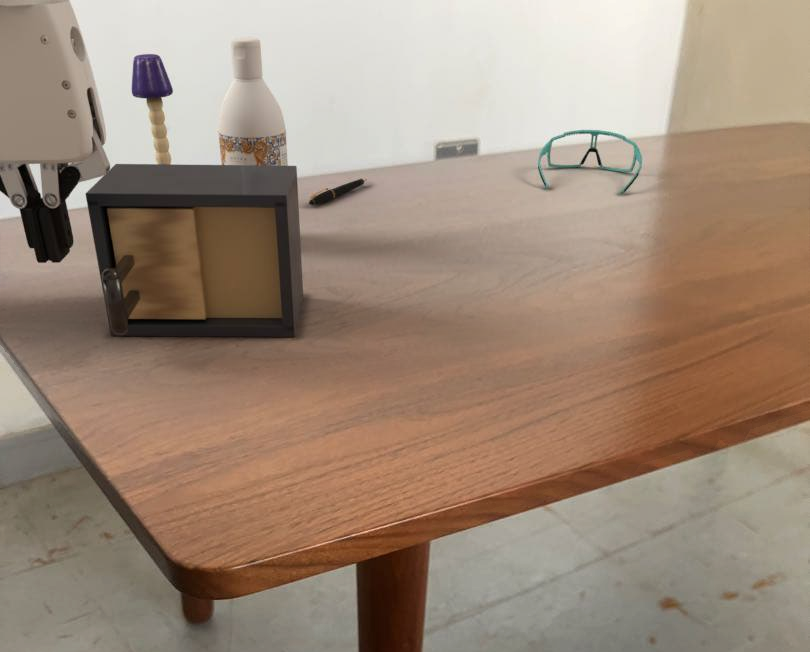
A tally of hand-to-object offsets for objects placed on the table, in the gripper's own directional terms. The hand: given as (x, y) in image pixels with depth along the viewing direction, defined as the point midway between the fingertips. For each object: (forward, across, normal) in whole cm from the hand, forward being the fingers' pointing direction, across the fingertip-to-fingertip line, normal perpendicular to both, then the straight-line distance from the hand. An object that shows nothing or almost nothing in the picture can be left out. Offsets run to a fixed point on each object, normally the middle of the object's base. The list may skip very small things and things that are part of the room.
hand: (54, 256), depth 70 cm
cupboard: (+9, -9, -10) cm, 17 cm away
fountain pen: (+9, -19, -52) cm, 57 cm away
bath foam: (+9, -11, -32) cm, 36 cm away
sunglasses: (+9, -53, -62) cm, 83 cm away
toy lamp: (+8, +2, -46) cm, 47 cm away
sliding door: (+7, -6, -3) cm, 10 cm away
